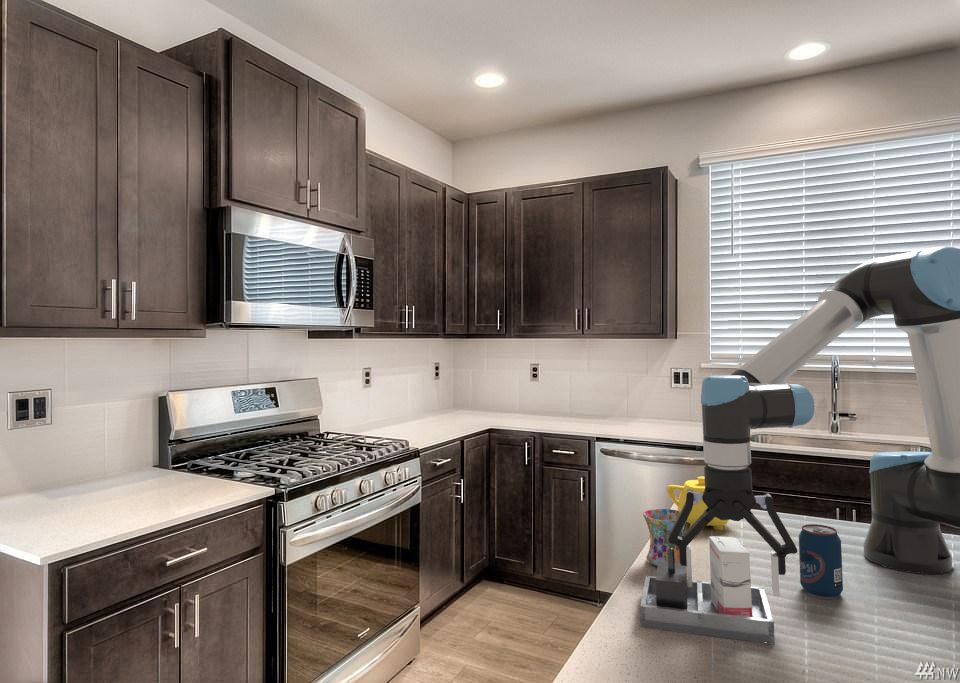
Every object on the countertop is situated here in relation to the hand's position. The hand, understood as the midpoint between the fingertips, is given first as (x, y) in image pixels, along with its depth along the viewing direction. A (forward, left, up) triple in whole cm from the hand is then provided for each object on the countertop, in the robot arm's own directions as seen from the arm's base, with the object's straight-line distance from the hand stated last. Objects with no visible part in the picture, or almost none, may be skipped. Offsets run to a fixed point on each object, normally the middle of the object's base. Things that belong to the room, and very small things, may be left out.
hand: (731, 588), depth 99 cm
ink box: (0, 0, -4) cm, 4 cm away
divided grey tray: (+5, 0, -5) cm, 7 cm away
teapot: (+3, -54, -6) cm, 54 cm away
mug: (+12, -25, -6) cm, 28 cm away
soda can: (-16, -16, -6) cm, 24 cm away
